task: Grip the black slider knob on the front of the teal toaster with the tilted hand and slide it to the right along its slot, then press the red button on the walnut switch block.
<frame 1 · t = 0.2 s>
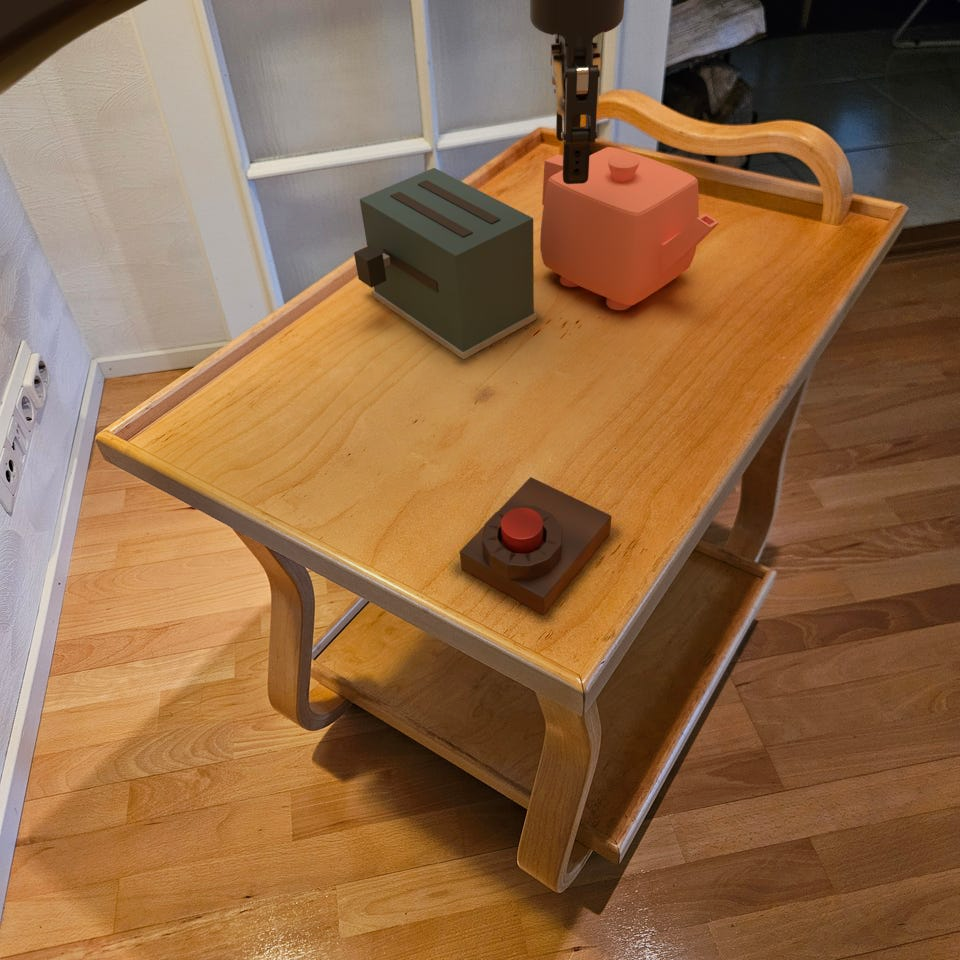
hand: (571, 159, 76), 19 cm above the serving cart, tool pointing down, fingers open, 8 cm apart
slider: (375, 264, 87), point 7 cm above the serving cart, slide at 0.0 cm
toaster: (452, 307, 93), on the serving cart
switch block: (536, 550, 68), on the serving cart
power button: (522, 530, 63), point 4 cm above the serving cart, slide at 0.1 cm
teapot: (618, 281, 95), on the serving cart
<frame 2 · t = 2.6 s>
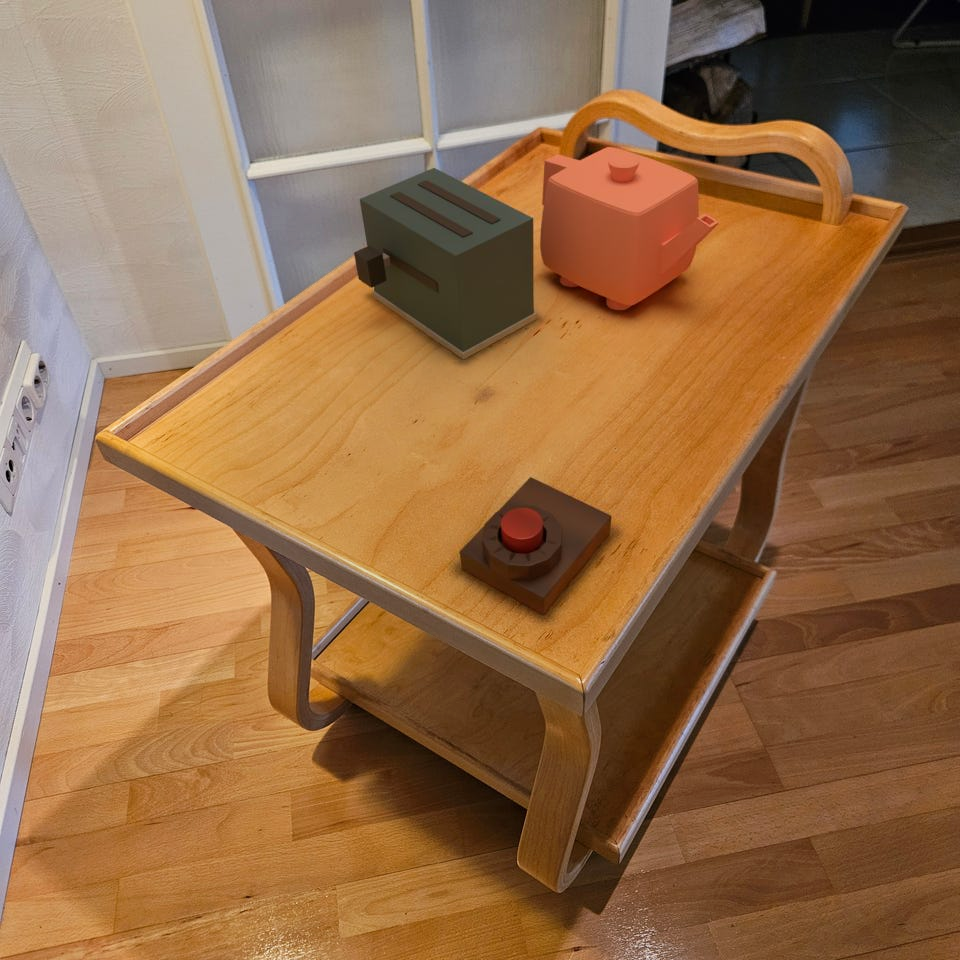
nothing on the serving cart moved.
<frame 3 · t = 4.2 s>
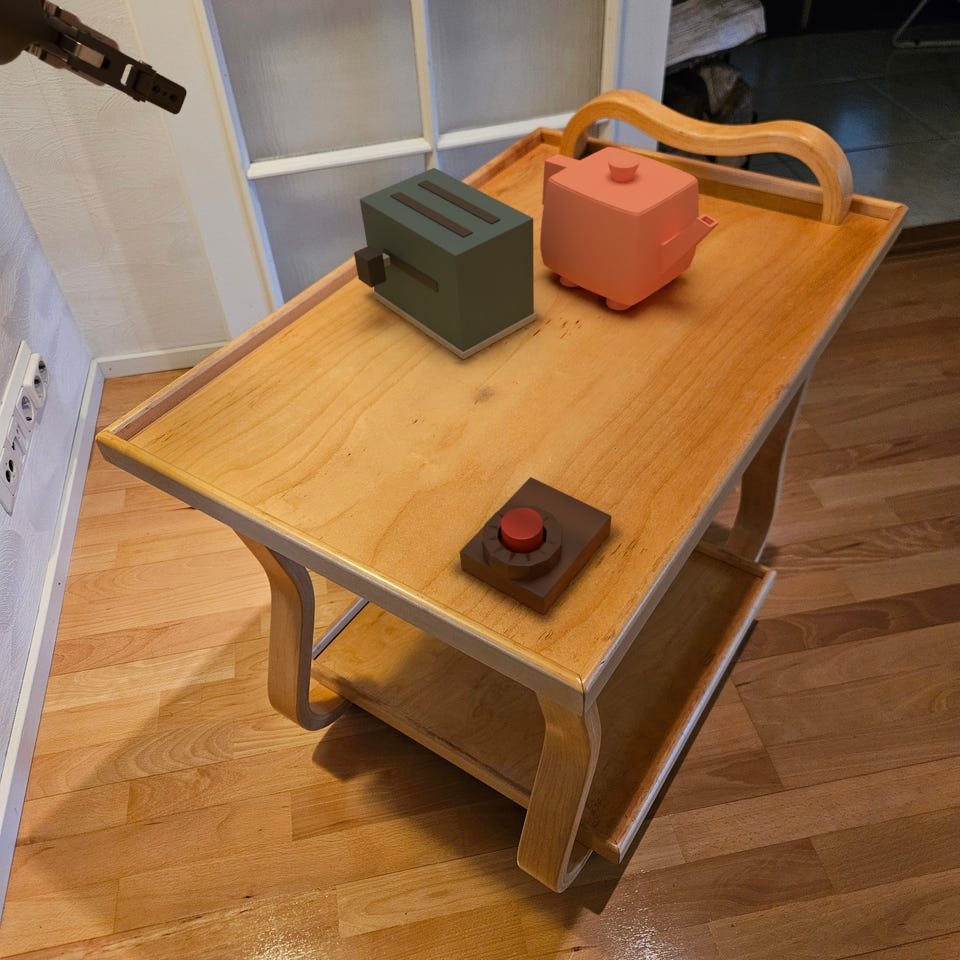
hand: (150, 85, 68), 28 cm above the serving cart, tool tilted 50°, fingers open, 8 cm apart
nothing on the serving cart moved.
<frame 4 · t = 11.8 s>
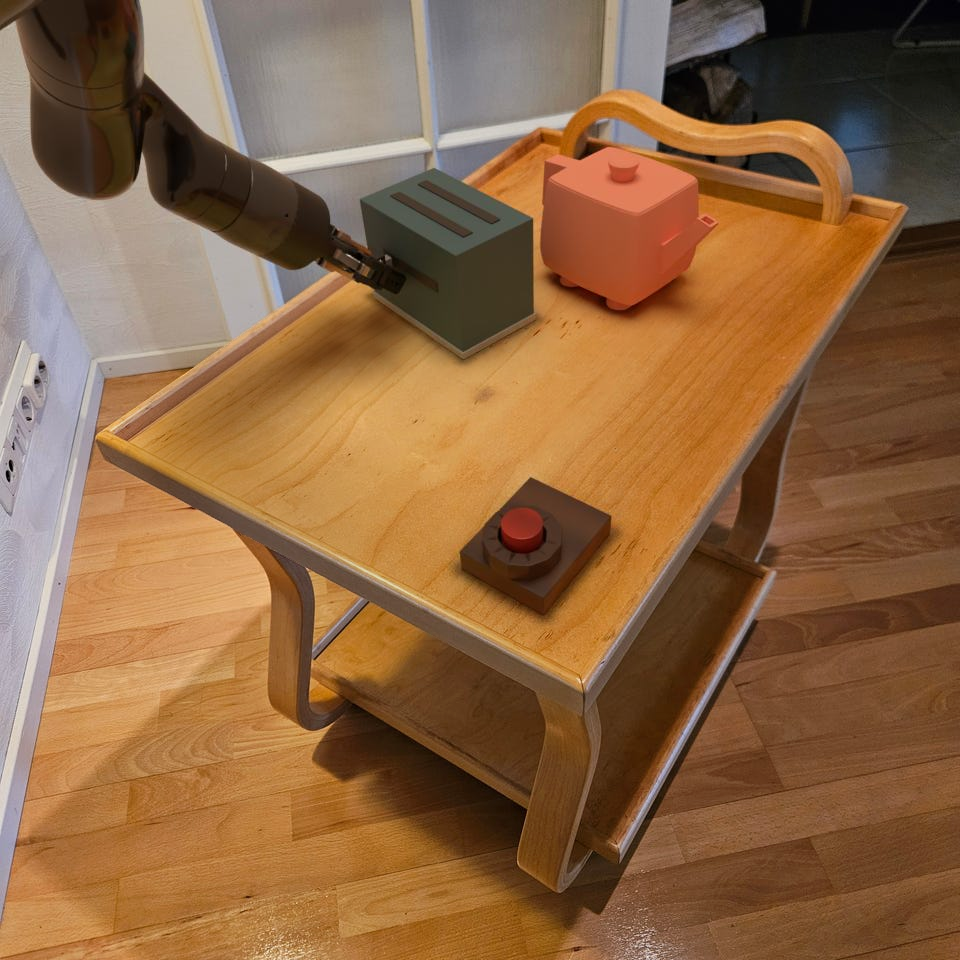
hand: (390, 278, 88), 5 cm above the serving cart, tool tilted 45°, fingers closed
slider: (377, 265, 86), point 7 cm above the serving cart, slide at 0.4 cm, touching gripper
everything else where it was.
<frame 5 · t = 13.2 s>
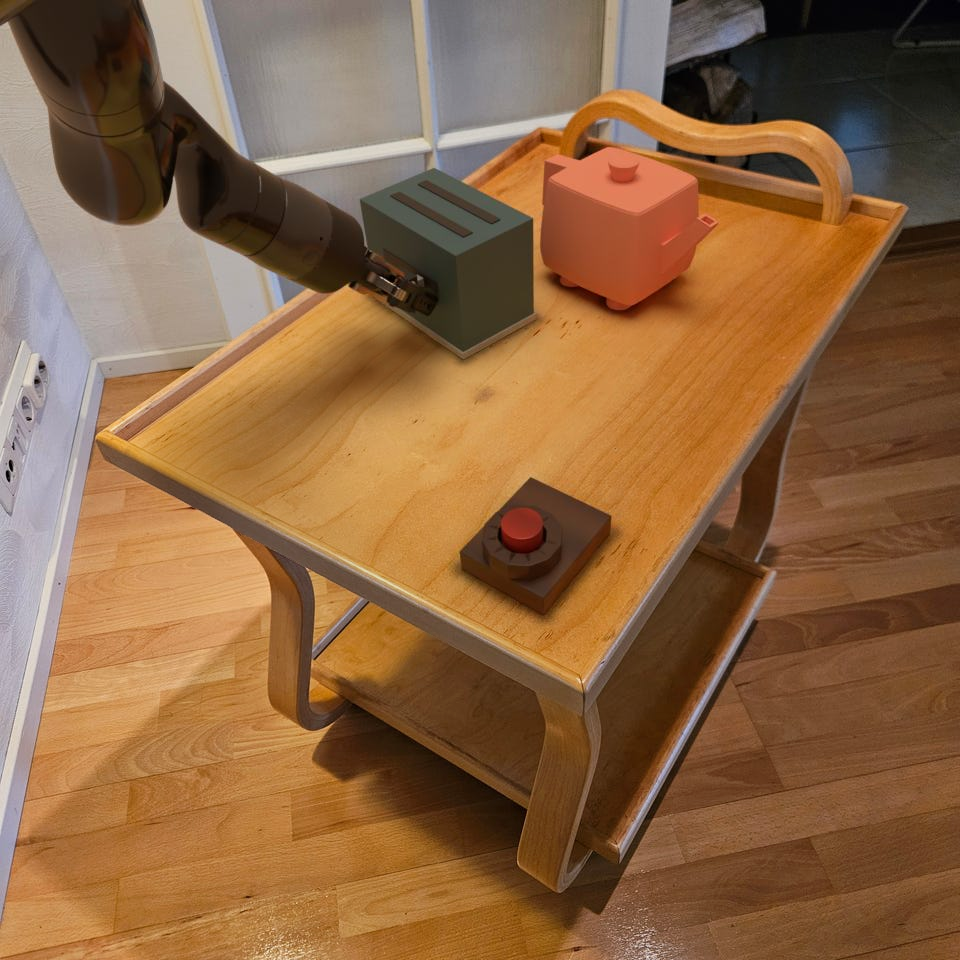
hand: (421, 299, 85), 5 cm above the serving cart, tool tilted 45°, fingers closed
slider: (408, 286, 83), point 7 cm above the serving cart, slide at 5.9 cm, touching gripper
everything else where it was.
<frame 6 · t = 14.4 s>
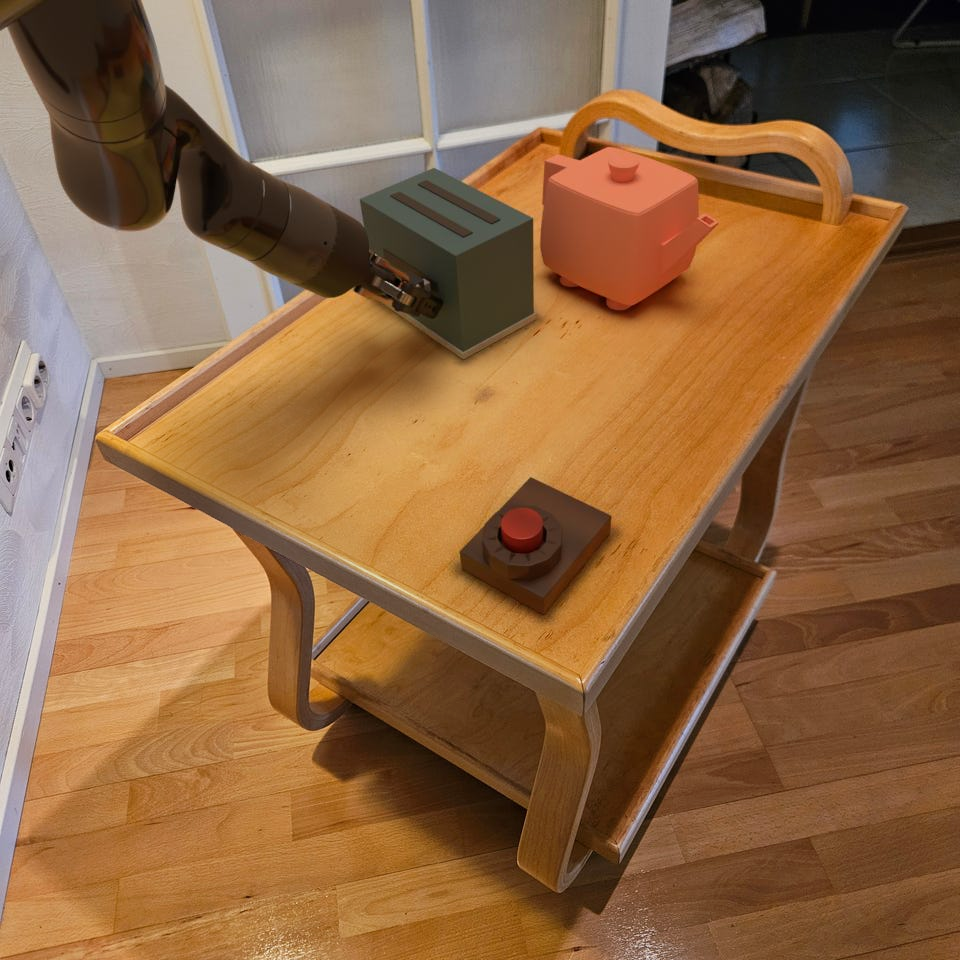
hand: (427, 303, 85), 5 cm above the serving cart, tool tilted 45°, fingers closed on slider, toaster, 2 cm apart
slider: (415, 290, 83), point 7 cm above the serving cart, slide at 7.0 cm, touching gripper
everything else where it was.
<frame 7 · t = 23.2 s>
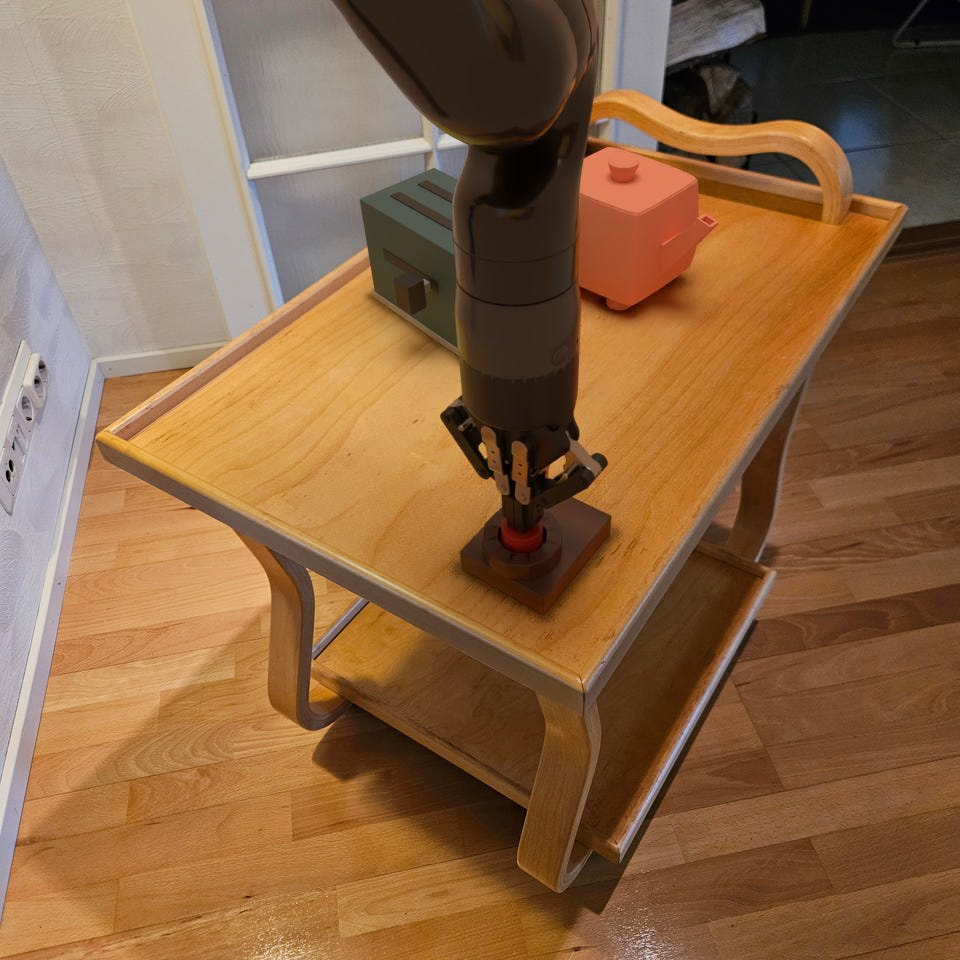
hand: (522, 523, 63), 5 cm above the serving cart, tool pointing down, fingers closed
slider: (415, 290, 83), point 7 cm above the serving cart, slide at 7.0 cm
power button: (522, 531, 64), point 4 cm above the serving cart, slide at -0.1 cm, touching gripper
everything else where it was.
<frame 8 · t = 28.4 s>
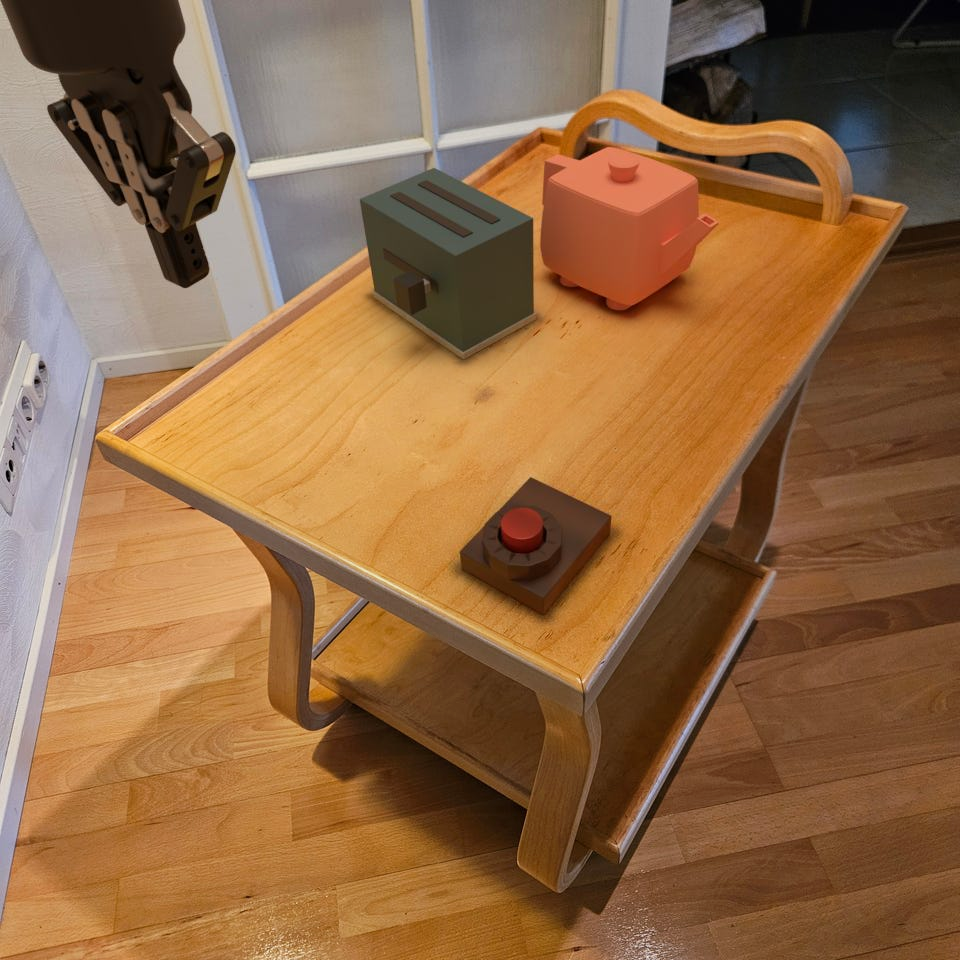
hand: (188, 278, 49), 27 cm above the serving cart, tool pointing down, fingers closed
power button: (522, 530, 63), point 4 cm above the serving cart, slide at 0.1 cm
everything else where it was.
at the end: slider slide at 7.0 cm; power button pushed in 1.1 cm at the most during the clip, back to where it started at the end; power button slide at 0.1 cm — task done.
